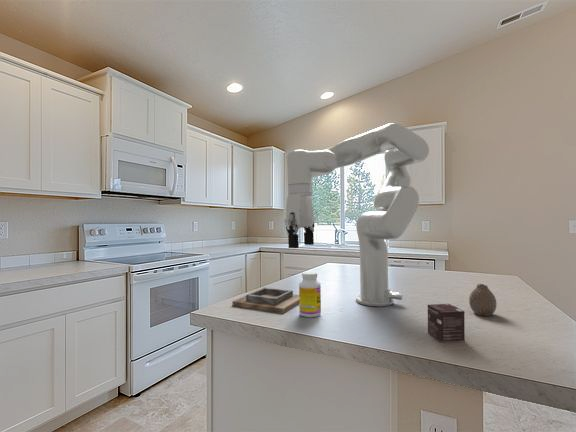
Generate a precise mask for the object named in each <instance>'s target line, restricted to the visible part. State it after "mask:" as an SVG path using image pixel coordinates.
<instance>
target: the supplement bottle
mask: <svg viewBox="0 0 576 432" xmlns="http://www.w3.org/2000/svg"><path fill="white" fill-rule="evenodd" d="M301 277H302V280H301V281H299V283H298V290H299V291H298V292H299V293H298V295H299V304H298V306H299V308H298V309H299V310H298V311H299V315H300V316H302V317H305V318H317V317H319V316H320V315H321V314H322V303H321V302H322V299H321V297H322V296H321V295H322V293H321V292H322V290H321V288H322V287H321V283H320V281H319V280H317V279H318V272H316V271H302V273H301Z"/></svg>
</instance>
